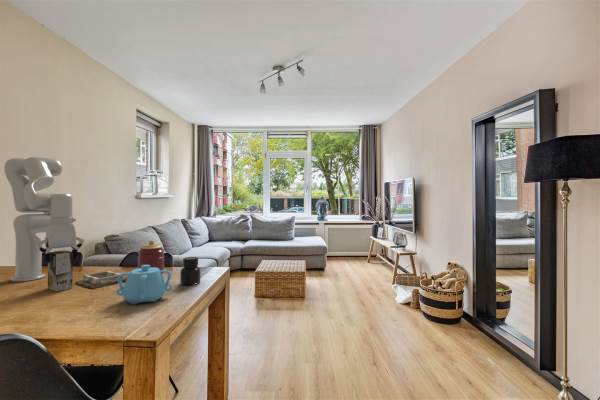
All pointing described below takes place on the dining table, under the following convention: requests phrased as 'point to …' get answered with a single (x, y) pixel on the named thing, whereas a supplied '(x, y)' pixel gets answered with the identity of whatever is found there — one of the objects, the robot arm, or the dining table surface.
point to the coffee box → (60, 270)
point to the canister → (151, 255)
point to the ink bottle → (190, 271)
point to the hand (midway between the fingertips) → (61, 260)
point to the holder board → (100, 279)
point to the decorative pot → (144, 285)
